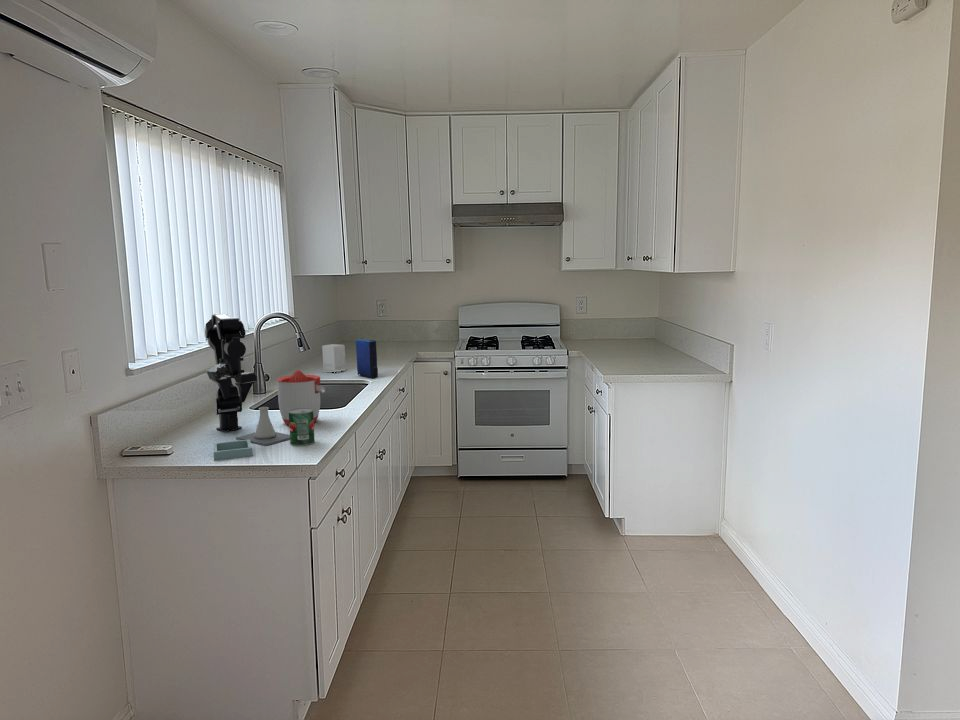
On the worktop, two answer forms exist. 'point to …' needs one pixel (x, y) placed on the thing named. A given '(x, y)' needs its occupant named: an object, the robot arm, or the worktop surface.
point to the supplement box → (333, 357)
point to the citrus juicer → (299, 394)
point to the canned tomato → (301, 426)
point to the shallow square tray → (232, 449)
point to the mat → (267, 441)
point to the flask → (264, 425)
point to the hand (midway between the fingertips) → (234, 400)
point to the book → (366, 358)
